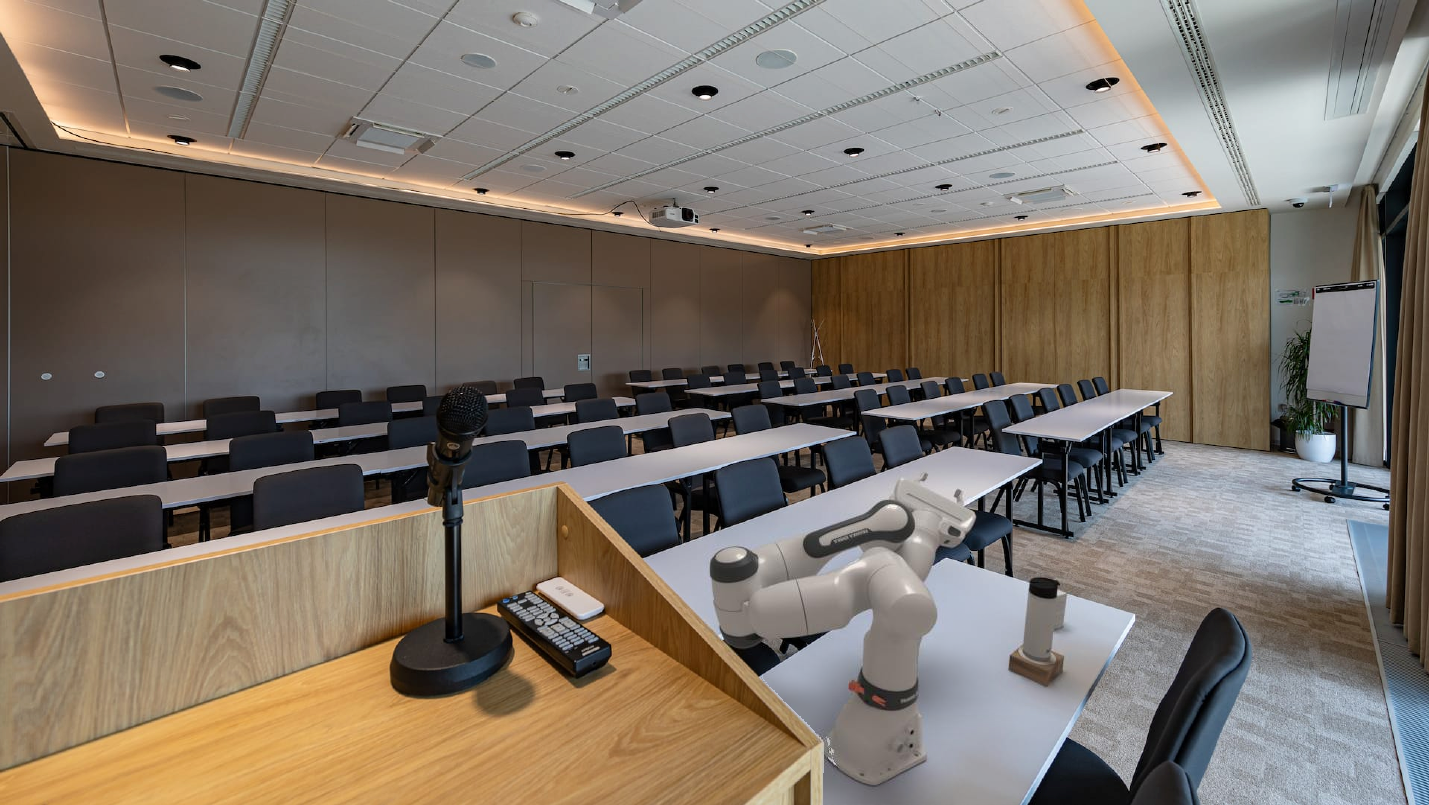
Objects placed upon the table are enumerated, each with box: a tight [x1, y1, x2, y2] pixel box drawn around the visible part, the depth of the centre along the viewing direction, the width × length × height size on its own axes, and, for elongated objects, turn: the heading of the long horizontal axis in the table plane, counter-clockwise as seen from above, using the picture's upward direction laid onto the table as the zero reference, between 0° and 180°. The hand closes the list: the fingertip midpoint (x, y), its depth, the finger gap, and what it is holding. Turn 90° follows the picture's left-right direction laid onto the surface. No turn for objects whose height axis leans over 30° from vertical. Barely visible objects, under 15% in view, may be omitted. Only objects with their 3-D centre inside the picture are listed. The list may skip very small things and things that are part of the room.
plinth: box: [1008, 644, 1065, 687], centre depth 153 cm, size 10×9×4 cm
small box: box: [1054, 589, 1068, 630], centre depth 175 cm, size 8×6×10 cm
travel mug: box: [1022, 576, 1061, 662], centre depth 150 cm, size 6×7×20 cm
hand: (941, 482), depth 156 cm, fingers open, 8 cm apart
